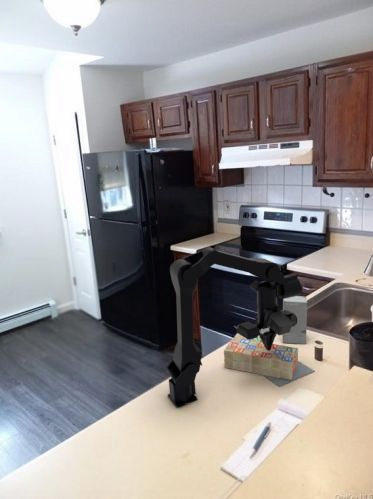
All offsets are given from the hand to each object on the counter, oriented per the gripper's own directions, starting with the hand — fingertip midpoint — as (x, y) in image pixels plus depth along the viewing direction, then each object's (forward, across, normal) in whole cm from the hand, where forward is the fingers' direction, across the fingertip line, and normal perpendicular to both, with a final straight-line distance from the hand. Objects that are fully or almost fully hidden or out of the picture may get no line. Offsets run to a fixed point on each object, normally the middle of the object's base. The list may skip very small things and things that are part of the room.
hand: (268, 349), depth 113 cm
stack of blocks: (+5, -4, +2) cm, 6 cm away
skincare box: (+8, +22, +12) cm, 26 cm away
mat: (+8, +5, +1) cm, 9 cm away
